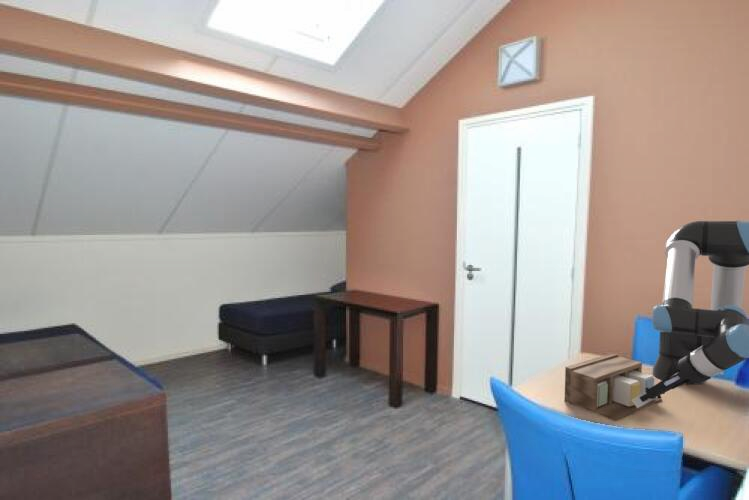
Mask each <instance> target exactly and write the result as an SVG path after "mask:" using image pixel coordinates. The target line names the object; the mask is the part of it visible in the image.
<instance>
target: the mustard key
mask: <svg viewBox="0 0 749 500" xmlns="http://www.w3.org/2000/svg"><path fill="white" fill-rule="evenodd" d="M639 395H640V383H639V381H637V380H634V379H630V378H627V377H624V376H620V375H615V376H613V386H612V401H614V402H617V403H620V404H623V405H626V406H629V407H630V406H633V405H634V403H633V402H632V399H633V398H635V397H637V396H639Z"/></svg>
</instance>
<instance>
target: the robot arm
mask: <svg viewBox="0 0 749 500" xmlns="http://www.w3.org/2000/svg"><path fill="white" fill-rule="evenodd" d="M664 255H665V257H666V258H667V259H666V260H667V261H666V268H665V276H664V286H663V292H662V293H663V294H662V295H663V296H662V302H661V304H655V305H653V309H652V319H651V320H652V322H651V323H652V324H651V325H652V328H653V329H654V330H656V331H658V332H659V343H658V344H659V345H658V356H657V358H656V361H655V363H654V365H653V367H652V376H653V377H654V378H657V379H660V382H657V383H656V384H654V386H653V387H651V388H650V389H649V388H648V387H647V388H645V390H646V391H645V392H644V393H642V394H640V395H639V396H637V397H635V398H633V399H632V402H633V403H634V405H635V406H636V407H637V408H639V407H641V406H643V405H644V404H646V403H648V402H650V401H651V400H653V399H655V398H657V397H658V398H659V399H660V398H661V399H662V396H661V395H664V394H665V393H667V392H669V391H670V390H674V389H676V388H679V387H682V386H684V385H702V384H703V383H705V382H707V381H709V380H710V379H711V378H713V377H716V376H717V375H720V376H723V375H724V374H725V371H726V370H728V369H730V368H733V367H734V366H736V365H738V364H740V363H742V362H744V361H745V360H748V359H749V318H748V315H747V313H746V312H745V310H743V309H742V307H743V300H744V299H743V298H744V289H745V288H744V287H745V278H746V269H747V267H749V221H744V220H743V221H741V220H735V221H734V220H730V221H729V220H728V221H727V220H725V221H724V220H695V221H691V222H688V223H686V224H684V225H682V226H680V227H678V228H677V229H676V230H675V231H674V232H673V233H672V234H670V236H669V237H668V239H667V241H666V243H665V246H664ZM699 256H701V257H702V256H703V257H708V261H709V263H711V264H712V265H713V269H712V282H711V283H712V284H711V299H710V309H704V308H694V307H693V305H694V304H693V303H694V288H695V287H694V286H695V285H694V284H695V274H696V273H695V270H696V260H697V259H698V258H699Z"/></svg>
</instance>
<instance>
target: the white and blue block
mask: <svg viewBox="0 0 749 500" xmlns="http://www.w3.org/2000/svg"><path fill="white" fill-rule="evenodd" d="M628 378H630V379H634V380H637V381H639V383H640V394H642V393H644V392H645V391H646V390H645V388H647V387H648V388H649V389H650V388H651V387H653V386H654V385H655V377H654V375H653V374H652V375H651V374H650V373H649V374H647V373H644V372H638V371H635V370H630V371H628Z"/></svg>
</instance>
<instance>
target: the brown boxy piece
mask: <svg viewBox="0 0 749 500" xmlns="http://www.w3.org/2000/svg"><path fill="white" fill-rule="evenodd" d="M642 365H643V362H642V361H638V360H634V359H630V358H626V357H623V356H619V354H617V353H614V352H613V353H609V354H605V355H602V356H599V357H595V358H592V359H588V360H585V361H581V362H578V363H575V364H571V365H568V366H565V369H564V371H565V373H564V374H565V375H564V402H565V403H568V404H571V405H573V406H576V407H578V408H581V409H583V410H587V411H589V412H591V413H594V414H596V415H598V416H602V417H605V418H607V419H609V420H612V421H615V422H616V421H618V420H621V419H623V418H626V417H627V416H630V415H632V414H634V413H635V414H636V413H638V412H639V411H641V410H643V409H646V408H648V407H650V406H652V405H655V404H657V403H659V402H662V401H663V399H662V398H660V399H659V398H658V397H657V398H655V399H653V400H651V401H650V402H648V403H646V404H644V405H643V406H641V407H639V408H637V407H636V406H635V405H633V406H630V407H629V406H626V405H623V404H620V403H617V402H614V401H612V386H613V376H615V375H620V376H624V377H627V378H628V371H630V370H635V371H638V372H642V371H643V369H642V368H643V366H642ZM642 373H643V372H642ZM601 380H604V381H607V384H608V392H607V403H606V404H603V405H601V406H598V407H597V386H598V381H601Z"/></svg>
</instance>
